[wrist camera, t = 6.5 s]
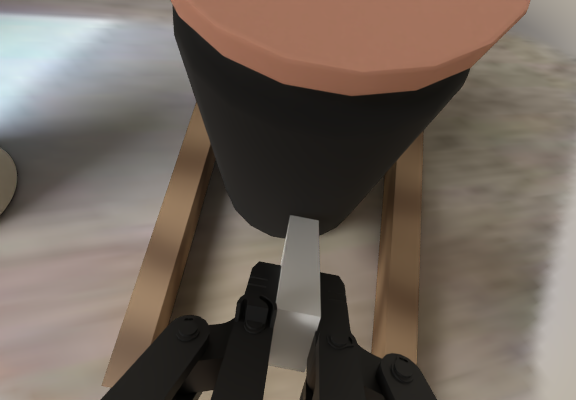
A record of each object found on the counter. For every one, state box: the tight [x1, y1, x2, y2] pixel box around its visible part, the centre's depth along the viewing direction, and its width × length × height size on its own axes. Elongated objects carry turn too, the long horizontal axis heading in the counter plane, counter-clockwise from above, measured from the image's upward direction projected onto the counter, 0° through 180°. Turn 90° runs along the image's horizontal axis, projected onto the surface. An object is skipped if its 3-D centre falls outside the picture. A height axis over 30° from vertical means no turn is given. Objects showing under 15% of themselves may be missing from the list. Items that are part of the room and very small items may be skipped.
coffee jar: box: [171, 0, 530, 239], centre depth 17 cm, size 11×11×18 cm
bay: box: [102, 102, 424, 388], centre depth 23 cm, size 28×18×3 cm, turn 170°
